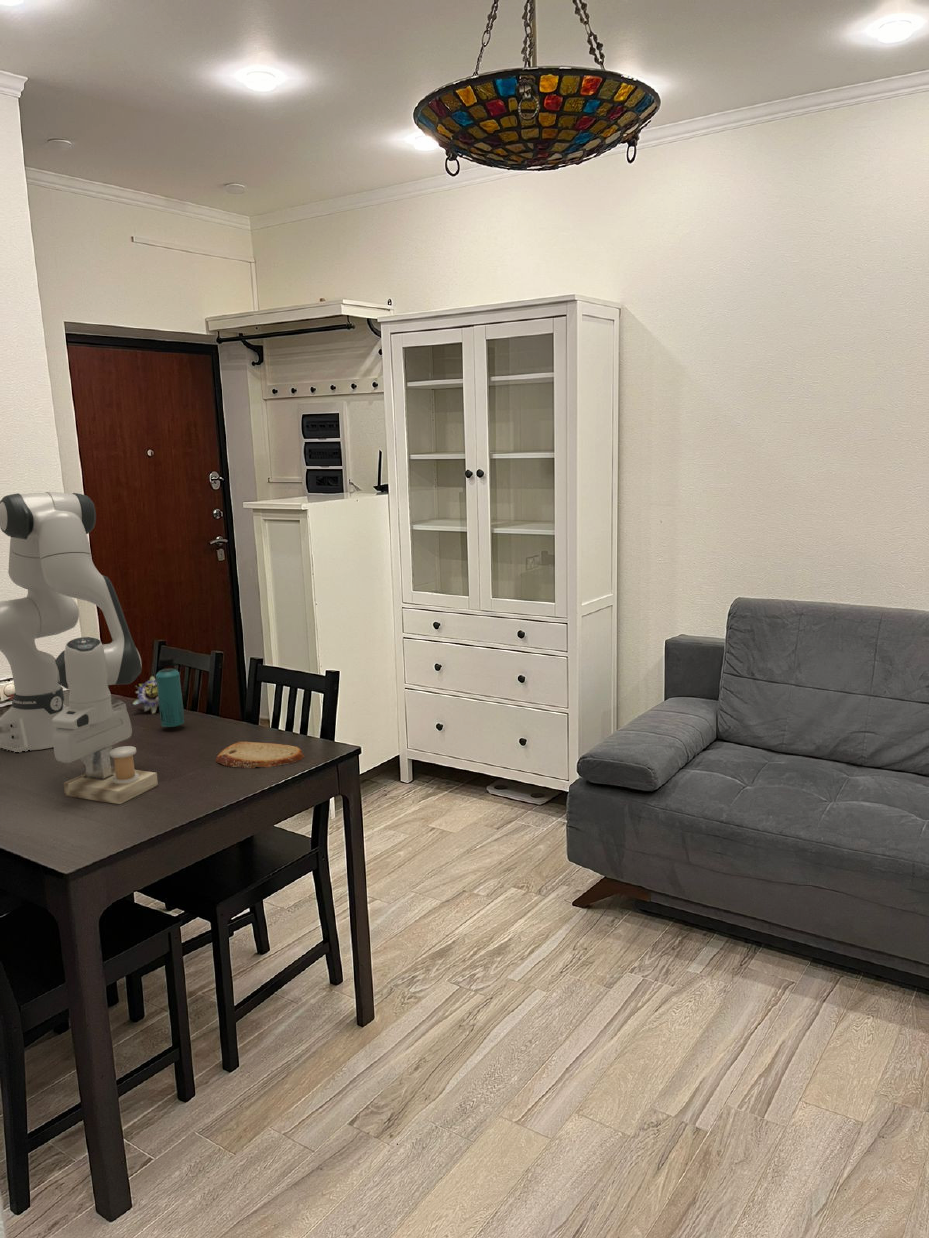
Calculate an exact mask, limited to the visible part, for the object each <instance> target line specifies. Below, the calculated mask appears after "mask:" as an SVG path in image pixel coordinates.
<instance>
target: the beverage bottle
mask: <svg viewBox="0 0 929 1238" xmlns="http://www.w3.org/2000/svg"><path fill="white" fill-rule="evenodd" d="M174 666H175V660H174V657H172V656H171V657H170V656H166V657H161V658H159V659H158V667H159V668H162V669H161V670H159V671H158V672H157V673H156V674H155V680H156V683H157V689H158V700H159V702H158V703H159V706H158V707H159V708H158V711H159V712H158V714H159V719H160V720H159V721H160V725H161V726H162V727H164V728H171V727H172V728H173V727H179V726H182V725H183V724H185V719H186V717H185V712H184V711H185V709H184V704H183V703H184V701H183V699H184V698H183V693H182V685H181V677H180V676H181V675H180V674H181V673H180V672H179V671H178V670H177V669H175V668H170V667H174Z"/></svg>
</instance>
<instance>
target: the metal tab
mask: <svg viewBox="0 0 929 1238" xmlns="http://www.w3.org/2000/svg"><path fill="white" fill-rule="evenodd" d="M90 760H91V761H92V763H95V764H96V768H97V770H96V771H94V772H92V773H87V772H86V771H85V773H86V775H87V778H90V779H97V780H105V779H107V778H109V777H111V776H112V773H111V767H112V766H111V765H112V764H111V757H110V756H109V748H103V749H101V750H98V751H97V752H95V753H92V758H91V759H90Z"/></svg>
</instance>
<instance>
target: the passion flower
mask: <svg viewBox="0 0 929 1238" xmlns="http://www.w3.org/2000/svg"><path fill="white" fill-rule="evenodd" d="M135 688H136V690H137V691H134V693H135V694H137V697H136V699H135V700H133V701H132V703H131V705H132V706H138V705H140V704H142V707H143V712H144V713H146V712H148V711H150V712H151V715H155V714H156V712H157V709H158V707H159V703H158V702H159V700H158V689H157V680H156V677H155V676H153V675H151V676H150V677H149V679H148V680H146V681H145V682H143V683H139V684H138V686H137V685H135Z"/></svg>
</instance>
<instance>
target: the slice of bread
mask: <svg viewBox="0 0 929 1238" xmlns="http://www.w3.org/2000/svg"><path fill="white" fill-rule="evenodd" d="M303 757H305V755H304V753H303V751H302V749H300V748H299V747H298V746H293V745H290V744H282V743H274V742H273V743H270V742H252V741H242V740H241V741H238V742H234V743H233V744H231V745H229V746H227V747H226V748H224V749H223V750H221V751H220V752H219V753H218V754H217V756H216V758H215V763H216V764H220V765H222V766H225V767H228V768H232V767H241V768H240V769H256V768H255V767H267V768H272V767H271V766H277V765H281V764H284V763H292V762H295V761H298V760H301V759H302V758H303ZM302 760H303V759H302ZM302 760H301V761H302ZM298 762H299V761H298ZM295 763H296V762H295ZM292 764H293V763H292ZM243 767H244V768H243ZM277 767H278V766H277Z"/></svg>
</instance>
